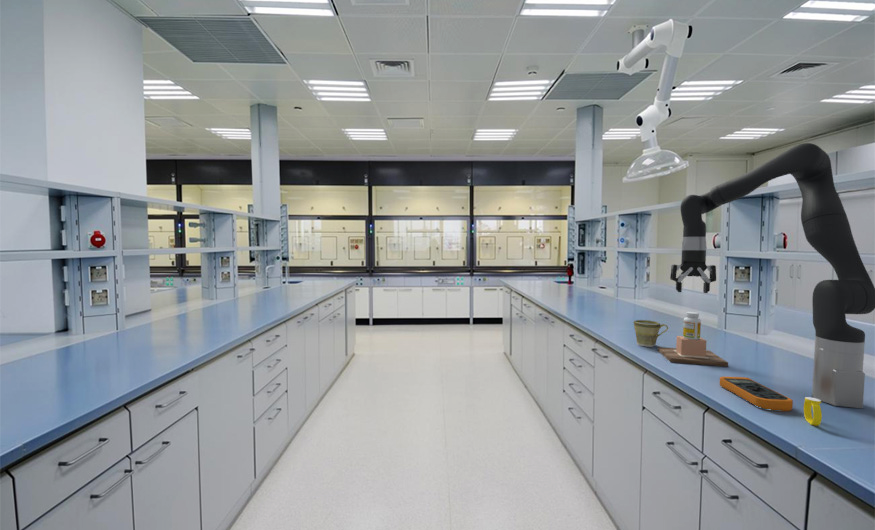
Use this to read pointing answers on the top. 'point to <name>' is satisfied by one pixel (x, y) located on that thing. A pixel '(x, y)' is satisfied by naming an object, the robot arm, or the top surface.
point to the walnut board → (692, 357)
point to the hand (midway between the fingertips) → (692, 292)
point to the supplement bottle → (691, 326)
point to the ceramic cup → (647, 332)
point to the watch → (817, 414)
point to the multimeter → (756, 393)
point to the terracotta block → (691, 346)
